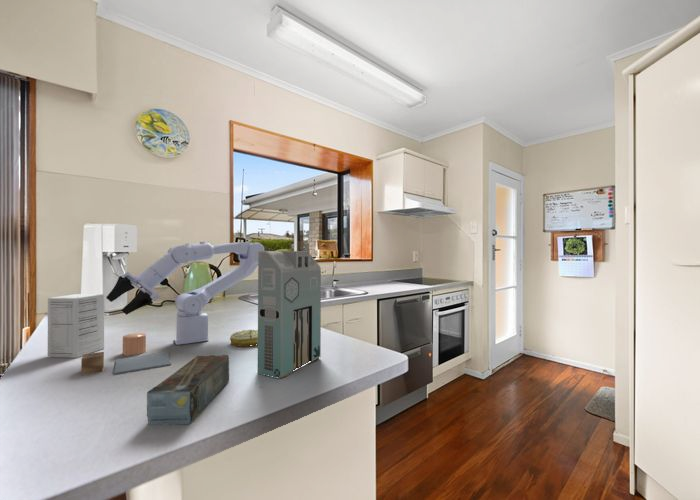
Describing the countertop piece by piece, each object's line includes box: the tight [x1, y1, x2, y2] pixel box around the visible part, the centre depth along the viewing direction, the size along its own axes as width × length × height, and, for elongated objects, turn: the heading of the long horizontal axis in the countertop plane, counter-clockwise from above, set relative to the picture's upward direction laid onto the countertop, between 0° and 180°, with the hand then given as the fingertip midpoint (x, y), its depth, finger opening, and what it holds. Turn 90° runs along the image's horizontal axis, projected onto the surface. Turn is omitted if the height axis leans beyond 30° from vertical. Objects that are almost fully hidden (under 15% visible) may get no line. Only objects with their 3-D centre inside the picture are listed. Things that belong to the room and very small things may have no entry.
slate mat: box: [113, 351, 172, 376], centre depth 85 cm, size 12×12×1 cm
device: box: [257, 250, 322, 379], centre depth 83 cm, size 16×8×30 cm, turn 151°
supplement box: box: [47, 293, 105, 359], centre depth 94 cm, size 10×9×17 cm
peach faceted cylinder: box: [122, 332, 147, 356], centre depth 94 cm, size 6×6×5 cm
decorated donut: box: [229, 329, 258, 347], centre depth 105 cm, size 10×11×4 cm
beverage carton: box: [146, 354, 230, 425], centre depth 64 cm, size 8×19×7 cm, turn 1°
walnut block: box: [80, 351, 105, 376], centre depth 79 cm, size 4×4×4 cm
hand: (116, 306), depth 93 cm, fingers open, 7 cm apart
